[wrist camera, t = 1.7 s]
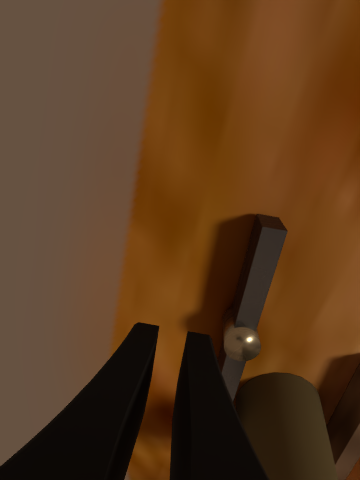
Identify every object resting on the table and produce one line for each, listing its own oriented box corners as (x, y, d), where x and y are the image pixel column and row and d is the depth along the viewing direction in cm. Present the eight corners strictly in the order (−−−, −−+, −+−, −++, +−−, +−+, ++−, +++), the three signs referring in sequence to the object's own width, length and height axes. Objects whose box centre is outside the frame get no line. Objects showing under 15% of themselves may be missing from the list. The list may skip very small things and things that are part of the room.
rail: (321, 466, 24) (332, 500, 22) (307, 463, 24) (316, 497, 22) (384, 355, 19) (405, 384, 17) (365, 352, 20) (384, 381, 17)
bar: (216, 441, 24) (217, 477, 22) (191, 437, 24) (189, 471, 22) (286, 218, 16) (298, 236, 14) (249, 212, 16) (255, 229, 14)
